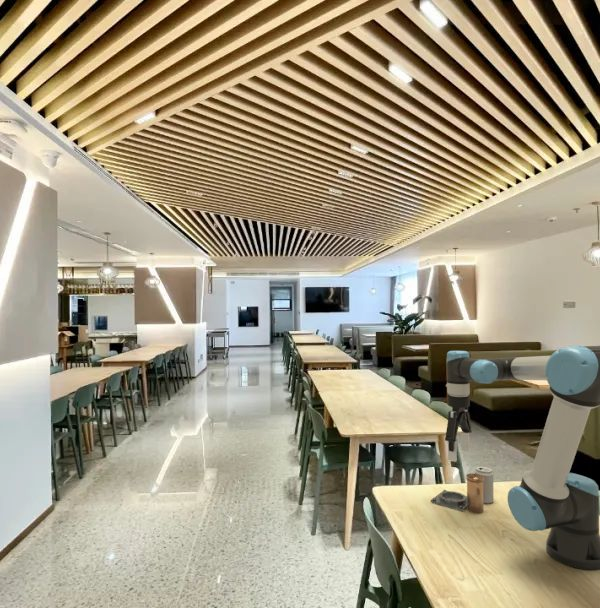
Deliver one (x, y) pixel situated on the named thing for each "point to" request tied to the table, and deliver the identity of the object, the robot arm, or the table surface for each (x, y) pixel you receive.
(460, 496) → the flange
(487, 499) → the beverage can
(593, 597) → the table surface
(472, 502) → the copper cylinder
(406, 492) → the table surface
